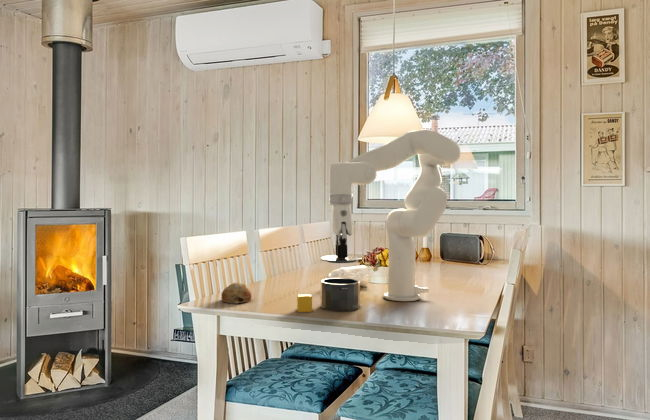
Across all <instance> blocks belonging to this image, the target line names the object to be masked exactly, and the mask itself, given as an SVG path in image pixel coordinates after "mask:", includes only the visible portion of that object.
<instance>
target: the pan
mask: <svg viewBox="0 0 650 420" xmlns="http://www.w3.org/2000/svg"><path fill="white" fill-rule="evenodd" d="M360 287H361V286H360V281H359V280H355V279H349V278H329V279H325V278H324V279H322V280H321V281H320V308H321V309H323V310H326V311H329V312H330V311H331V312H351V311H356V310H358V309H360V303H361V302H360V300H361V299H360V297H361V296H360V292H361V291H360V290H361V288H360Z"/></svg>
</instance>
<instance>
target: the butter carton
mask: <svg viewBox="0 0 650 420" xmlns="http://www.w3.org/2000/svg"><path fill="white" fill-rule="evenodd" d="M296 303H297V304H296V311H297V312H298V313H312V312H313V296H312V294H310V293H309V294H308V293H305V294H304V293H303V294H302V293H301V294H297V295H296Z"/></svg>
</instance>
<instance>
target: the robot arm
mask: <svg viewBox="0 0 650 420" xmlns="http://www.w3.org/2000/svg"><path fill="white" fill-rule="evenodd" d="M414 156H417V158H418V163H419V169H420V170H419V171H420V172H419V175H418V177H417V178H416V180H415V181H414V183H413V185H412V186H411V188H410V189H409V191H408V192H407V193H406V194H405V195H406V196H405V197H404V200H403V201H404V207H405V208H397V209H394V210H391V211H390V212H389V213H388V215H387V217H386V221H385V227H386V233H387V242H388V262H387V263H388V264H387V265H388V266H387V267H388V270H387V292H384V293H383V298H384V299H386V300H388V301H392V302H393V301H395V302H414V301H418V300H419V299H420V295H421V294H429V292H430V289H429V287H424V286H418V285H416V262H417V261H416V260H417V259H416V257H417V255H416V254H417V250H416V249H417V248H416V247H417V246H416V243H415V241H414V240H415V239H414V238H417V239H419V238H421V239H422V238H426V237H427V236H428V235H429V234H430V233H431V232H432V231H433V229H434V228H435V227H436V225H437V223H438V222H439V220H440V219H441V217H442V215H443V214H444V212H445V211H446V208H447V205H448V195H447V192H446V191H445V189H443V188H442V187H441V185H442V181H443V179H442V174H441V171H440V168H439V167H440V166H449V165H454V164H455V163H457V162H458V161H459V160H460V157H461V148H460V146H459V145H458V143H457V142H456V141H455V140H453V139H451V138H449V137H447V136H446V135H443V134H441V133H439V132H438V131H435V130H432V129H429V128H424V129H416V130H410V131H407V132H405V133H403V134H401V135H399V136H398V137H396V138H394V139H392V140H390V141H388V142H387V143H385V144H383V145H380V146H378V147H375V148H373V149H371V150H369V151H366V152H364V153H362V154H359V155H357V156H355V157H353V158H352V159H349V160H348V161H338V162H337V161H336V162H335V161H334V162H331V163H330V165H329V167H328V169H329V170H328V174H329V175H328V178H329V181H328V182H329V187H328V188H329V190H328V191H329V192H328V193H329V206H332V232H333V234H334V235H335V255H336V256H337V257H338V258H347V255H348V236H349V237H351V236H352V235H353V226H352V224H353V223H352V209H351V206H353V204H354V203H353V202H354V200H353V198H354V195H353V194H354V192H353V188H354V187H353V186H355V185H357V186H364V185H370V184H372V183H373V182H374V181H375V180H376V179H377V176H378V175H377V174H378V172H381V171H387V170H390V169H393V168H396V167H398V166H399V165H400V164H402V163H404V162H406V161H408V160H410V159H411V158H412V157H414ZM337 244H338V245H337Z"/></svg>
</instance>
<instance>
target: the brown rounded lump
mask: <svg viewBox="0 0 650 420" xmlns="http://www.w3.org/2000/svg"><path fill="white" fill-rule="evenodd" d="M221 300H222V301H223V303H227V304H234V305H235V304H244V303H249V302H251V300H252V291H251V290H250V288H248V286H247V285H246V284H244V283H241V282H233V283H231V284H229V285H228V286H226V287H225V288H224V289H223V291H222V292H221Z"/></svg>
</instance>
